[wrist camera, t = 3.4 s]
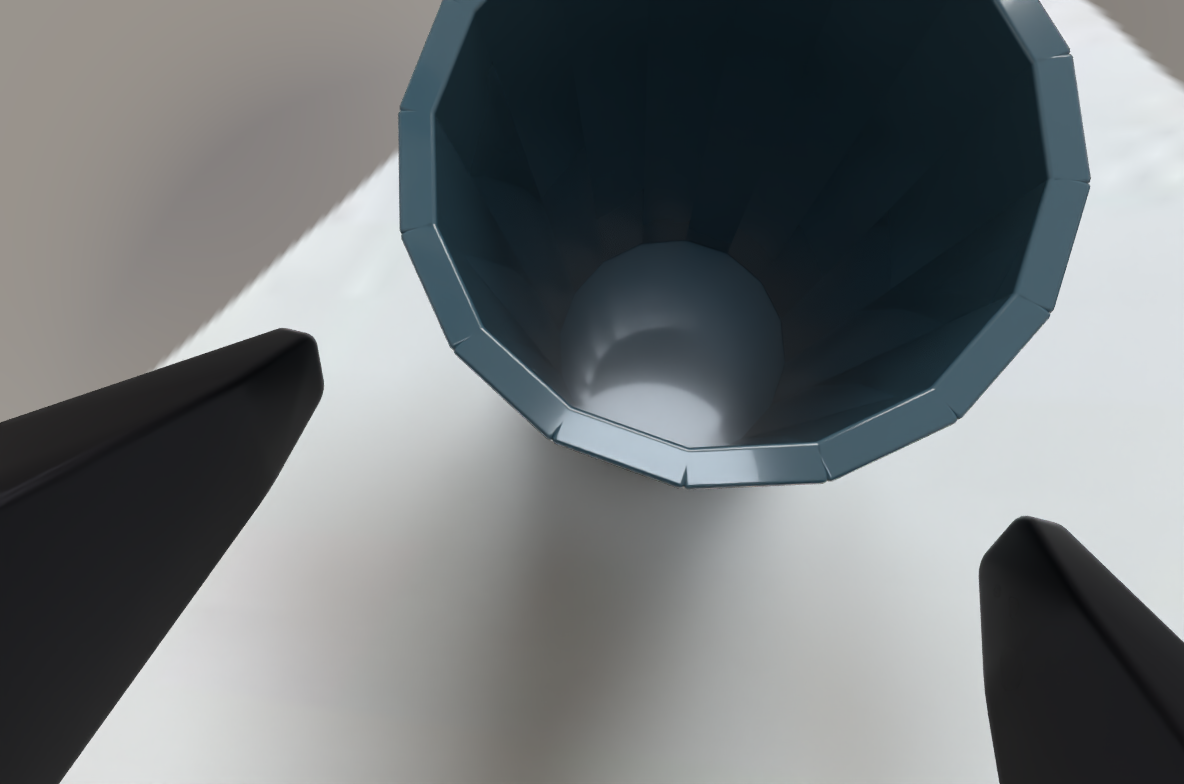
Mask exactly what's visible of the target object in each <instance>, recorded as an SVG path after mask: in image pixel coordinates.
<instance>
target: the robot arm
mask: <svg viewBox="0 0 1184 784" xmlns="http://www.w3.org/2000/svg"><path fill="white" fill-rule="evenodd" d="M323 390H324V380H323V374H322V369H321V363H320V357H319V352H318V346H317V342H316V340H315V339H314V337H313V336H311V335H310V334H307V333H304V332H300V331H296V330H292V329H287V328H279V329H276V330H273V331H270V332H267V333H264V334H261V335H258V336H255V337H252V338H249V339H246V340H243V341H240V342H237V343H234V344H231V345H228V346H226V347H223V348H220V349H217V350H214V351H211V352H208V353H205V354H202V355H199V356H196V357H193V358H190V359H187V360H184V361H181V362H178V363H175V364H172V365H169V366H166V367H163V368H160V369H157V370H154V371H152V372H149V373H146V374H143V375H140V376H137V377H134V378H131V379H128V380H125V381H122V382H119V383H116V384H113V385H110V386H107V387H104V388H101V389H99V390H95V391H92V392H90V393H86V394H84V395H81V396H78V397H75V398H72V399H69V400H66V401H63V402H60V403H57V404H54V405H51V406H48V407H45V408H42V409H39V410H36V411H33V412H30V413H27V414H24V415H21V416H18V417H16V418H12V419H9V420H7V421H4V422H1V423H0V784H59V783H60V782H61V780H62V779H63V777H64V776H65V775H66V773H67V772H68V770H69V769H70V768H71V766H72V765H73V764H74V762H75V761H76V759H77V758H78V757H79V755H80V754H81V752H82V751H83V750H84V748H85V747H86V745H87V744H88V743H89V741H90V740H91V738H92V737H93V736H94V734H95V733H96V732H97V730H98V729H99V727H100V726H101V725H102V723H103V722H104V720H105V719H106V718H107V716H108V715H109V713H110V712H111V711H112V709H113V708H114V706H115V705H116V704H117V702H118V701H119V700H120V698H121V697H122V695H123V694H124V693H125V691H126V690H127V688H128V687H129V686H130V684H131V683H132V681H133V680H134V679H135V677H136V676H137V674H138V673H139V672H140V670H141V669H142V668H143V666H144V665H145V663H146V662H147V661H148V659H149V658H150V656H151V655H152V654H153V652H154V651H155V649H156V648H157V647H158V645H159V644H160V643H161V641H162V640H163V638H164V637H165V636H166V634H167V633H168V631H169V630H170V629H171V627H172V626H173V624H174V623H175V622H176V620H177V619H178V617H179V616H180V615H181V613H182V612H183V611H184V609H185V608H186V606H187V605H188V604H189V602H190V601H191V599H192V598H193V597H194V595H195V594H196V592H197V591H198V590H199V588H200V587H201V585H202V584H203V583H204V581H205V580H206V579H207V577H208V576H209V574H210V573H211V572H212V570H213V569H214V567H215V566H216V565H217V563H218V562H219V560H220V559H221V558H222V556H223V555H224V553H225V552H226V551H227V549H228V548H229V547H230V545H231V544H232V542H233V541H234V540H235V538H236V537H237V535H238V534H239V533H240V531H241V530H242V528H243V527H244V526H245V524H246V523H247V521H248V520H249V519H250V517H251V516H252V515H253V513H254V512H255V510H256V509H257V508H258V506H259V505H260V503H261V502H262V500H263V499H264V497H265V496H266V494H267V493H268V491H269V490H270V488H271V487H272V485H273V483H274V482H275V480H276V478H277V477H278V475H279V473H280V471H281V470H282V468H283V466H284V464H285V462H286V461H287V459H288V457H289V455H290V454H291V452H292V450H293V448H294V446H295V445H296V443H297V441H298V439H299V437H300V436H301V434H302V432H303V430H304V429H305V427H306V425H307V423H308V421H309V420H310V418H311V416H312V414H313V413H314V411H315V409H316V407H317V405H318V404H319V402H320V400H321V397H322V394H323ZM979 591H980V612H981V633H982V655H983V674H984V686H985V696H986V703H987V710H988V717H989V723H990V729H991V735H992V741H993V747H994V753H995V759H996V765H997V771H998V777H999V783H1000V784H1184V642H1183V641H1182V640H1181V639H1180V638H1179V637H1178V636H1177V635H1176V634H1175V633H1174V632H1172V631H1171V630H1170V629H1169V628H1168V627H1167V626H1166V625H1165V624H1164V623H1163V622H1162V621H1161V620H1160V619H1159V618H1158V617H1157V616H1156V615H1155V614H1154V613H1153V612H1152V611H1151V610H1150V609H1149V608H1148V607H1146V606H1145V605H1144V604H1143V603H1142V602H1141V601H1140V600H1139V599H1138V598H1137V597H1136V596H1135V595H1134V594H1133V593H1132V592H1131V591H1130V590H1129V589H1128V588H1127V587H1126V586H1125V585H1124V584H1123V583H1122V582H1121V581H1119V580H1118V579H1117V578H1116V577H1115V576H1114V575H1113V574H1112V573H1111V572H1110V571H1109V570H1108V569H1107V568H1106V567H1105V566H1104V565H1103V564H1102V563H1101V562H1100V561H1099V560H1098V559H1097V558H1096V557H1095V556H1094V555H1092V554H1091V553H1090V552H1089V551H1088V550H1087V549H1086V548H1085V547H1084V546H1083V545H1082V544H1081V543H1080V542H1079V541H1078V540H1077V539H1076V538H1075V537H1074V536H1073V535H1072V534H1071V533H1070V532H1069V531H1068V530H1067V529H1065V528H1064V527H1063V526H1061V525H1060V524H1057V523H1054V522H1051V521H1047V520H1043V519H1039V518H1035V517H1031V516H1021V517H1019V518H1017V519H1015V520H1014V521H1013V522H1012V523H1011V524H1010V525H1009V527H1008V528H1007V529H1006V530H1005V531H1004V532H1003V534H1002V535H1001V536H1000V537H999V538H998V539H997V541H996V542H995V543H994V544H993V545H992V546H991V547H990V549H989V550H988V551H987V552H986V553H985V555H984V556H983V558H982V561H981V564H980V568H979Z"/></svg>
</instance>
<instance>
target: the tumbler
mask: <svg viewBox="0 0 1184 784" xmlns="http://www.w3.org/2000/svg"><path fill="white" fill-rule="evenodd" d="M1069 53H1070V48H1069V47H1068V45H1067V44H1066V42H1065V40H1064V39H1063V37H1062V36H1061V34H1060V33H1059V31H1058V29H1057V28H1056V26H1055V25H1054V23H1053V22H1052V20H1051V18H1050V17H1049V15H1048V14H1047V12H1046V11H1045V9H1044V7H1043V6H1042V4H1041V3H1040V1H1039V0H442V3H441V5H440V8H439V10H438V13H437V15H436V17H435V20H434V22H433V25H432V28H431V30H430V32H429V35H428V37H427V40H426V42H425V45H424V47H423V50H422V52H421V55H420V57H419V60H418V62H417V65H416V67H415V70H414V72H413V74H412V77H411V79H410V82H409V84H408V87H407V90H406V92H405V95H404V97H403V99H402V102H401V105H400V112H399V114H398V131H399V132H398V133H399V134H398V135H399V136H398V137H399V215H400V232H401V234H402V235H401V238H402V241H403V243H404V246H405V248H406V250H407V252H408V255H409V257H410V259H411V261H412V264H413V266H414V268H415V270H416V273H417V275H418V277H419V279H420V282H421V284H422V286H423V288H424V290H425V293H426V295H427V297H428V299H429V302H430V304H431V306H432V308H433V311H434V313H435V315H436V317H437V320H438V322H439V324H440V326H441V328H442V331H443V333H444V335H445V337H446V340H447V342H448V344H449V346H450V348H451V349H452V350H454V353H455V355H456V356H457V357H458V358H459V359H461V360H462V361H463V362H464V363H465V364H466V365H467V366H468V367H469V368H470V369H471V370H472V371H474V372H475V373H476V374H477V375H478V376H479V377H480V378H481V379H482V380H483V381H484V382H486V383H487V384H488V385H489V386H490V387H491V388H492V389H493V390H494V391H495V392H496V393H497V394H499V395H500V396H501V397H502V398H503V399H504V400H505V401H506V402H507V403H508V404H509V405H511V406H512V407H513V408H514V409H515V410H516V411H517V412H518V413H519V414H520V415H521V416H522V417H524V418H525V419H526V420H527V421H528V422H529V423H530V424H531V425H532V426H533V427H534V428H536V429H537V430H538V431H539V432H540V433H541V434H542V435H543V436H544V437H545V438H546V439H549V440H551V441H553V442H554V443H555V444H556V445H559V446H562V447H565V448H568V449H570V450H573V451H576V452H579V453H581V454H584V455H587V456H590V457H593V458H595V459H598V460H601V461H604V462H606V463H609V464H612V465H615V466H617V467H620V468H623V469H626V470H629V471H631V472H634V473H637V474H640V475H642V476H645V477H648V478H651V479H654V480H656V481H659V482H662V483H665V484H667V485H670V486H673V487H676V488H685V489H687V490H696V489H718V488H740V487H762V486H784V485H805V484H823V483H825V482H826V481H834V480H836V479H839V478H841V477H843V476H845V475H847V474H849V473H851V472H853V471H855V470H858V469H860V468H862V467H864V466H866V465H868V464H870V463H872V462H874V461H877V460H879V459H881V458H883V457H885V456H887V455H889V454H891V453H893V452H896V451H898V450H900V449H902V448H904V447H906V446H908V445H910V444H912V443H915V442H917V441H919V440H921V439H923V438H925V437H927V436H929V435H931V434H934V433H936V432H938V431H940V430H942V429H944V428H946V427H948V426H951V425H953V424H954V423H955V422H956V421H957V419H960V418H962V417H963V416H964V415H965V414H966V413H967V412H968V410H969V409H970V408H971V407H972V406H973V405H974V404H975V402H976V401H977V400H978V399H979V398H980V397H981V396H982V394H983V393H984V392H985V391H986V390H987V389H988V388H989V386H990V385H991V384H992V383H993V382H994V381H995V380H996V378H997V377H998V376H999V375H1000V374H1001V373H1002V371H1003V370H1004V369H1005V368H1006V367H1007V366H1008V365H1009V363H1010V362H1011V361H1012V360H1013V359H1014V358H1015V357H1016V355H1017V354H1018V353H1019V352H1020V351H1021V350H1022V349H1023V347H1024V346H1025V345H1026V344H1027V343H1028V342H1029V341H1030V339H1031V338H1032V337H1033V336H1034V335H1035V334H1036V333H1037V331H1038V330H1039V329H1040V328H1041V327H1042V326H1043V325H1044V323H1045V322H1046V321H1047V320H1048V319H1049V317H1050V313H1051V312H1052V311H1053V310H1054V307H1055V304H1056V300H1057V297H1058V294H1059V290H1060V287H1061V284H1062V280H1063V277H1064V273H1065V270H1066V267H1067V263H1068V260H1069V257H1070V253H1071V250H1072V247H1073V243H1074V240H1075V236H1076V233H1077V230H1078V226H1079V223H1080V220H1081V216H1082V213H1083V210H1084V206H1085V203H1086V199H1087V196H1088V193H1089V189H1090V185H1089V182H1090V179H1091V177H1090V171H1089V164H1088V157H1087V150H1086V143H1085V137H1084V130H1083V123H1082V116H1081V109H1080V103H1079V96H1078V89H1077V82H1076V75H1075V69H1074V62H1073V56H1072V55H1071V54H1069Z"/></svg>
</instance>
